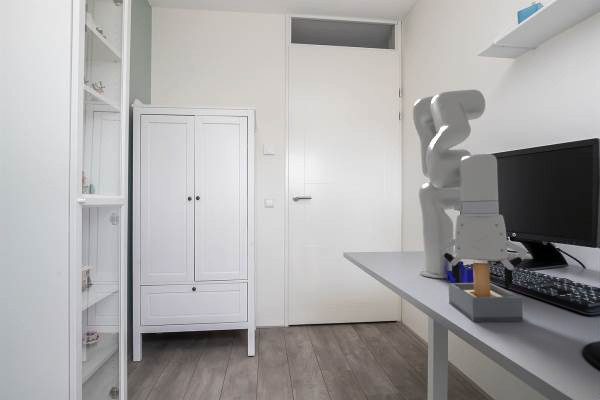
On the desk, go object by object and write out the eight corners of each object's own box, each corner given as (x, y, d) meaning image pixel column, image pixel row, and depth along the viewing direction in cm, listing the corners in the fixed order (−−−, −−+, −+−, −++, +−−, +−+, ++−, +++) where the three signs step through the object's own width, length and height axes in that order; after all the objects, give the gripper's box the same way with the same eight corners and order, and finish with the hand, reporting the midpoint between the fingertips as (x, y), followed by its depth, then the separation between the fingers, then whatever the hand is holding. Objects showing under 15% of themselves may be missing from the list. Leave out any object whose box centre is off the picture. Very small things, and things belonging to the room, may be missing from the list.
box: (449, 303, 78) (448, 283, 78) (490, 302, 78) (490, 282, 78) (473, 322, 66) (472, 298, 66) (522, 321, 66) (521, 297, 66)
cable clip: (447, 280, 101) (446, 261, 101) (462, 280, 100) (461, 261, 100) (461, 290, 89) (461, 269, 89) (478, 290, 88) (478, 269, 88)
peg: (475, 304, 74) (473, 261, 74) (491, 306, 72) (489, 262, 72) (474, 308, 71) (472, 264, 71) (490, 310, 70) (488, 265, 70)
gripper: (435, 210, 73) (438, 283, 73) (526, 209, 64) (529, 293, 64) (441, 209, 80) (443, 276, 80) (524, 208, 70) (527, 284, 70)
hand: (481, 284), depth 72 cm, fingers open, 9 cm apart
